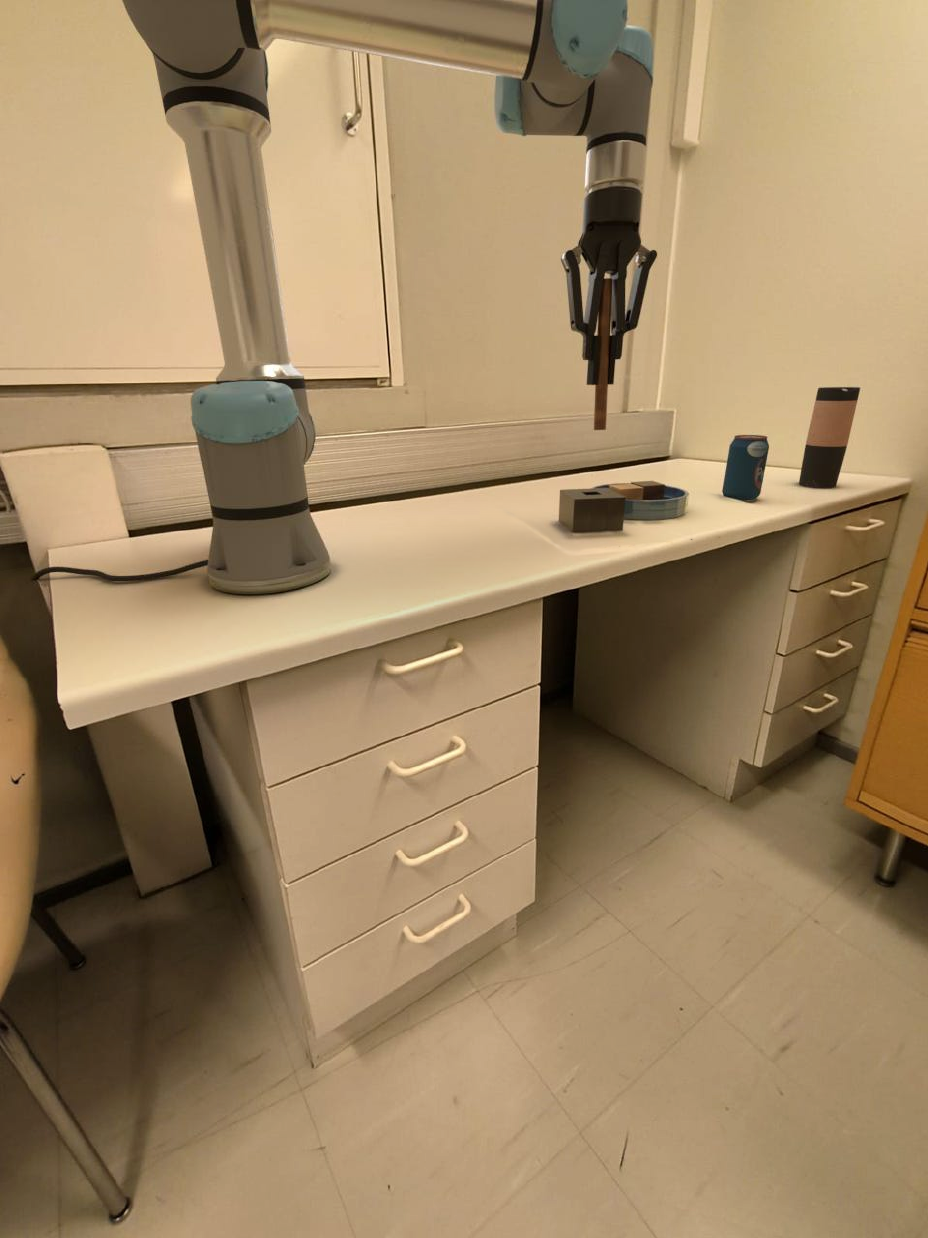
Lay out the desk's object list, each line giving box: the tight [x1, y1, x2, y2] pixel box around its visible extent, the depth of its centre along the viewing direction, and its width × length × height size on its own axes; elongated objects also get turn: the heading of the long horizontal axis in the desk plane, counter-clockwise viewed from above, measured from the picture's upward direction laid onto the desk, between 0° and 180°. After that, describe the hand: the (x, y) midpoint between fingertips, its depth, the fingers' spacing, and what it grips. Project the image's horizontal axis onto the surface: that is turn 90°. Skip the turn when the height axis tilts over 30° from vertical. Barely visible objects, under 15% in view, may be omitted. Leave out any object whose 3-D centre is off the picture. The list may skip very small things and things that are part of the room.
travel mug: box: [798, 386, 861, 489], centre depth 120 cm, size 8×8×20 cm
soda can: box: [721, 434, 770, 503], centre depth 110 cm, size 7×7×12 cm
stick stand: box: [558, 487, 626, 534], centre depth 91 cm, size 8×8×6 cm
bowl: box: [589, 482, 690, 521], centre depth 102 cm, size 17×17×4 cm
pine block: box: [609, 484, 644, 500], centre depth 101 cm, size 4×4×4 cm
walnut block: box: [630, 480, 666, 501], centre depth 103 cm, size 4×4×4 cm
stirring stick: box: [593, 277, 613, 431], centre depth 82 cm, size 2×2×20 cm
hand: (599, 384), depth 84 cm, fingers closed on stirring stick, 2 cm apart
